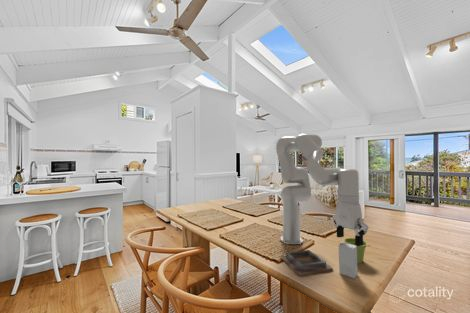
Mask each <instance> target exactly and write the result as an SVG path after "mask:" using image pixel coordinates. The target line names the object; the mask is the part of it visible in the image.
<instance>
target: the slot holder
mask: <svg viewBox="0 0 470 313" xmlns="http://www.w3.org/2000/svg"><path fill="white" fill-rule="evenodd" d="M281 257H282V258H283V260H282V261H283V262H284V263H285V264H286V265H287V266H288V267H289V268H290V269H291V270H292V271H294V273H296V274H297V275H298V276H299V277H304V276H305V277H306V276H310V275H316V274H323V273H328V272H332V271H333V270H334V268H333V267H332V266H330V265H329V264H328V263H327V261H325V260H324V259H323V258H321V257H320V256H318V255H317V254H315V253H314V252H313V251H312V250H309V249H307V250H300V251H291V252H286V253H285V255H281V256H280V258H281Z"/></svg>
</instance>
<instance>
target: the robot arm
mask: <svg viewBox="0 0 470 313" xmlns="http://www.w3.org/2000/svg"><path fill="white" fill-rule="evenodd" d="M322 145H323V142H322V138H321V137H320V135H317V134H314V133H313V134H312V133H311V134H310V133H301V134H299V135H297V136H282V137H280V138H279V139H278V140H277V141H276V146H275V150H276V154H277V156H278V160H279V167H280V173H281V179H282V182H283V183H285V184H296V185H287V186H284V187H283V188H282V189H281V191H280V192H281V194H280V195H281V200H282V230H281V233H282V235H281V236H280V238H279V239H280V241H282V242H281V243H283V242H285V243H288V244H287V245H289V244H300V245H302V244H303V243H304V239H303V238H302V237H301V209H300V206H299V204H298V203H303V202H307V201H309V200H311V197H312V188H311V184H310V183H311V182H310V177H311V178H312V179H313V180H314V182H316V183H317V185H320V186H337V197H338V200H337V201H336V204H335V212H334V215H332V219H333V223H334V225H335V228H336V238H344V236H345V234H344V233H345V231H344V230H345V229H348V230H350V231H351V230H352V231H354V233H355V236H354V238H355V245H356V246H362V245H363V241H364V236H365V235H366V234H367V232H368V230H369V226H368V225H367V224H366V223H365V222H364V221H363V213H362V212H363V211H362V207H361V203H360V192H359V191H360V189H359V188H360V186H359V185H360V182H359V179H360V178H359V171H358V170H357V169H356V168H355V169H353V168H352V169H351V168H339V167H327V168H325V167H323V166H322V165H321V164H320V163H319V161H320V160H321V159H322V158H323V156H324V150H323V149H322V148H321V147H322ZM290 152H300V153H301V154H302V156H304V158H305V159H306V161H307V162H306V169H307V170H306V169H305V168H304V167H302V166H296V164H295V158H294V157H293V155H292V154H291V153H290ZM309 176H310V177H309ZM344 228H345V229H344ZM302 242H303V243H302ZM285 243H284V244H285ZM301 243H302V244H301Z"/></svg>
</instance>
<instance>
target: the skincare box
mask: <svg viewBox="0 0 470 313" xmlns="http://www.w3.org/2000/svg"><path fill="white" fill-rule="evenodd" d="M338 271H339V272H338V273H339V274H340V275H343V276H346V277H348V278H351V279H356V278H357V276H358V275H359V274H358V263H357V246H355V245H351V244H347V243H345V242H344V241H341V242H340V243H339V244H338Z"/></svg>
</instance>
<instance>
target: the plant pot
mask: <svg viewBox="0 0 470 313" xmlns="http://www.w3.org/2000/svg"><path fill="white" fill-rule="evenodd" d="M343 242H344V243H347V244H351V245H355V237H347V238H344V240H343ZM367 245H368V243H367V241H365V240H363V245H362V246H357V264H361V263H362V262H364V258H365V251H366V248H367ZM355 246H356V245H355Z"/></svg>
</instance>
